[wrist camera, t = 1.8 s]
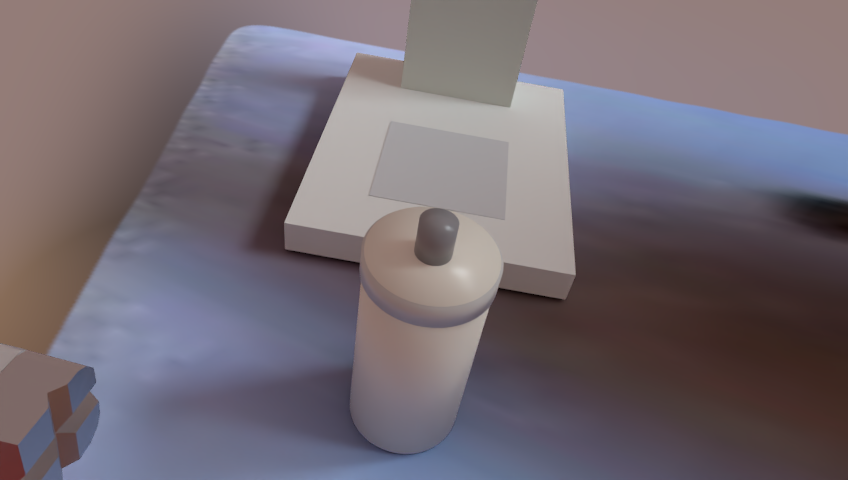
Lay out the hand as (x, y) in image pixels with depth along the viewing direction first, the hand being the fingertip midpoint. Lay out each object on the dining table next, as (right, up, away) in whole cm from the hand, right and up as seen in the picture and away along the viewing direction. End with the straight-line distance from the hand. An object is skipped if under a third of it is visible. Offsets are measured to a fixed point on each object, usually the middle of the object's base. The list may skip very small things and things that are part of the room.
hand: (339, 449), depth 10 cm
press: (+2, +7, +32) cm, 32 cm away
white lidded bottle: (0, -4, +20) cm, 20 cm away
